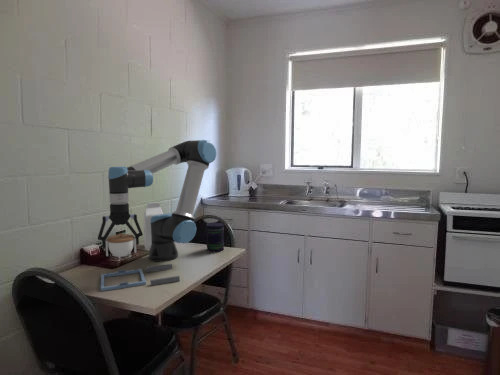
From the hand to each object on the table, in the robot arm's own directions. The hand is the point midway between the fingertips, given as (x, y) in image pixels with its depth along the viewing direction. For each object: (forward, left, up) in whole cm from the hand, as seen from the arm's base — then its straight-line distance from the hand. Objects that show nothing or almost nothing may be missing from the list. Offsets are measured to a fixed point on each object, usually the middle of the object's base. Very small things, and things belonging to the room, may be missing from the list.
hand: (121, 253), depth 146 cm
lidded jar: (0, 0, -1) cm, 1 cm away
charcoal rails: (-17, +1, -12) cm, 21 cm away
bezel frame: (0, 0, -12) cm, 12 cm away
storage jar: (-51, -28, -12) cm, 59 cm away
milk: (-21, -52, -12) cm, 57 cm away
